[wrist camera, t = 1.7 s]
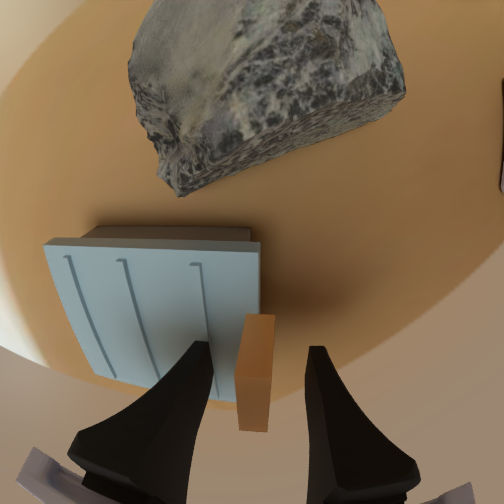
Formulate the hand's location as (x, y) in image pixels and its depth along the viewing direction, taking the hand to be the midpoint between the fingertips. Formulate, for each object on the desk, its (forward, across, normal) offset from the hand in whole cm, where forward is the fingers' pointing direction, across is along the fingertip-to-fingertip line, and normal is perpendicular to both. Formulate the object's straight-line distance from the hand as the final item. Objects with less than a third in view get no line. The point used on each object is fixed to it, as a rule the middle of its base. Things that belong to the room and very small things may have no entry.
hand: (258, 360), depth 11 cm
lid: (+2, +5, 0) cm, 6 cm away
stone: (+6, 0, -12) cm, 13 cm away
